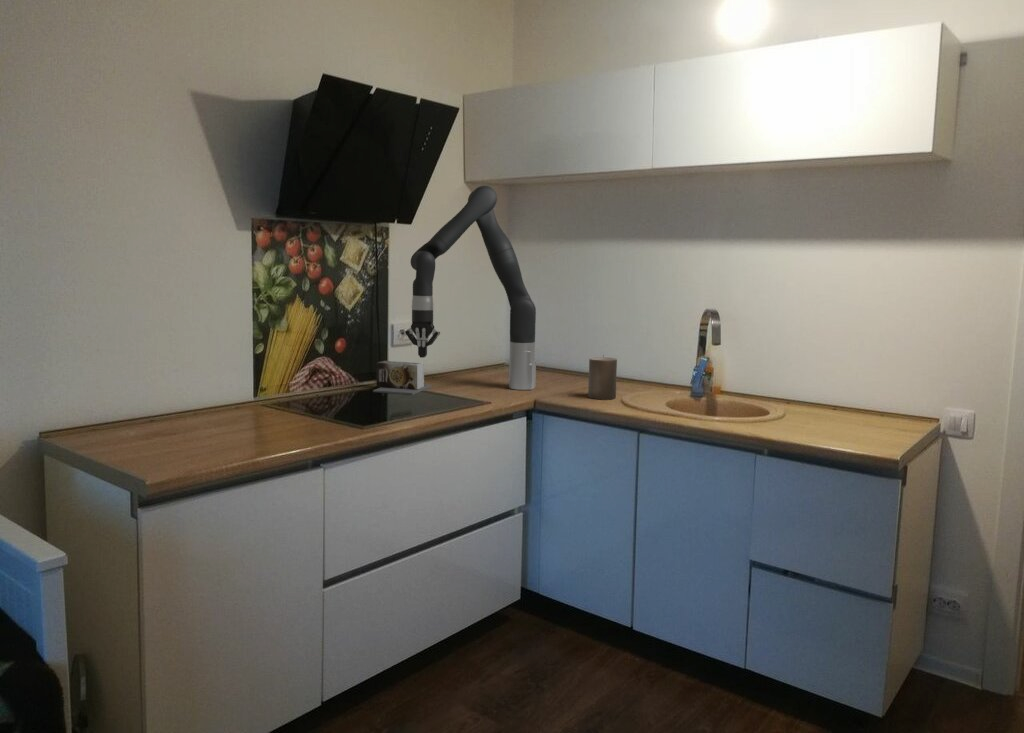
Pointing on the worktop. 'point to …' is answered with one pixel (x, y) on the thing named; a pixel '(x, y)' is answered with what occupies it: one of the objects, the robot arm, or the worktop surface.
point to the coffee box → (400, 375)
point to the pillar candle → (602, 378)
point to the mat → (400, 390)
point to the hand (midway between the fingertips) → (422, 357)
